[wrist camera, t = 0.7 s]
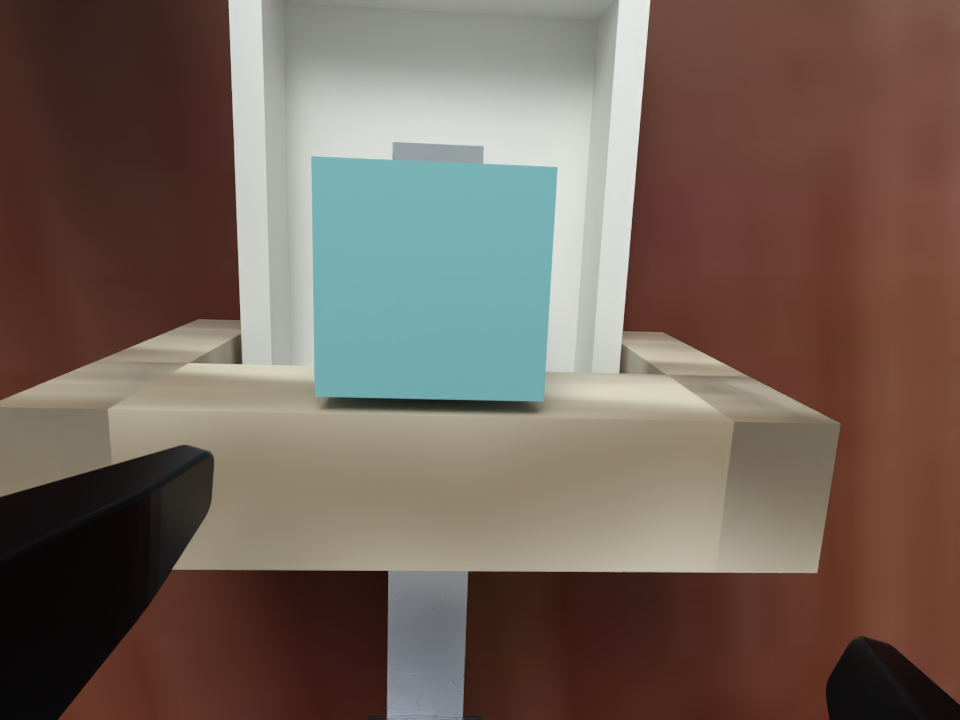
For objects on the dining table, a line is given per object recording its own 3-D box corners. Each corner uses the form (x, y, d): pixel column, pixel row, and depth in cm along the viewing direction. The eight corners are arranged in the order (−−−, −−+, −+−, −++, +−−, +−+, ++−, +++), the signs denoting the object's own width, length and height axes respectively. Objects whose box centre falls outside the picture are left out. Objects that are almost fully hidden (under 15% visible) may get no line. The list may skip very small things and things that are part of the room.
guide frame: (654, 419, 22) (816, 572, 13) (203, 410, 22) (5, 568, 12) (662, 332, 22) (840, 423, 12) (198, 318, 21) (-15, 406, 11)
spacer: (518, 355, 16) (543, 401, 12) (347, 351, 15) (315, 396, 11) (527, 180, 15) (557, 167, 11) (346, 173, 15) (310, 156, 11)
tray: (588, 446, 23) (610, 480, 20) (272, 440, 22) (246, 474, 19) (622, -1, 20) (653, -40, 17) (259, -23, 19) (225, -67, 16)
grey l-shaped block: (473, 752, 20) (491, 1056, 13) (374, 753, 20) (335, 1062, 13) (498, 155, 17) (543, 104, 9) (377, 150, 16) (325, 94, 9)
